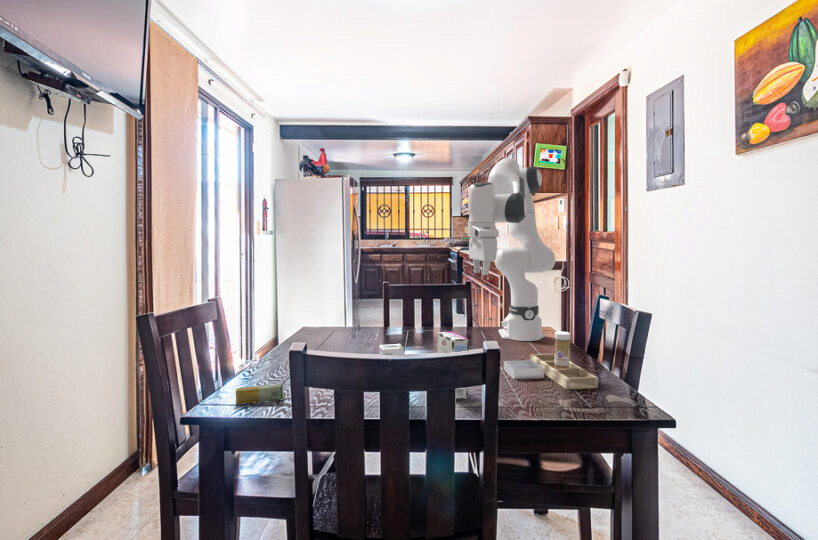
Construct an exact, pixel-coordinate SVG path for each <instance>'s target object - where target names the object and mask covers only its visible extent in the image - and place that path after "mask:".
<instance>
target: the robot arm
mask: <svg viewBox="0 0 818 540" xmlns="http://www.w3.org/2000/svg"><path fill="white" fill-rule="evenodd" d="M487 178H488V179H487V182H485V181H484V182H476V183H473V184H471V185H470V187H469V191H468V202H467V210H468V215H469V216H468V217H469V218H468V221H467V237H468V238H469V242H468V257H469V259H470V260H472V263H473V272H474V273H476V274H480V273H481V274H482V275H483V276H489V274H490V267H491V262H494V265H495V267H496V269H497V270H498V271H499V272H500V273H502V274H503V275H504V277H505V278H506V279H507V282H508V284H509V288H510V305H509V308H508V309H509V311H508V314H507V316H506V317H505V318H504V319H503V321H501V327H503V328H499V329H498V333H499V335H500V336H501V338H502V339H504V340H505V339H506V340H513V341H521V342H533V341H540V340H542V339H544V338H546V335H545V334H544V333H543V326H542V324H543V323H542V318H541V317H540V316H539V310H540V309H539V307H540V306H539V305H538V303H539V302H538V301H539V300H538V299H539V298H538V297H539V296H538V295H539V289H538V287H537V285H536V284H535V283H533V282H531V281H530V280H528V279H526V276H525V275H526V274H530V273H531V274H533V273H535V274H536V273H544V272H548V271H551V270H553V268H554V267H555V264H556V254H555V252H554V251H553V250H552V249H551V248H550V247H548V246H547V245H546V244H545V243H544V241H543V240H542V239H541V237H540V236H539V233H538V229H537V220H536V209H535V203H534V198H533V197H535V196H536V194H537V193H538V192H539V190H540V189H541V187H542V182H543V177H542V173H541V172H540V169H539V168H538V167H537V166H527V167H520V165H519V163H518V162H517V161H516V160H515V159H514V158H510V157H506V158H505V157H504V158H503V159H501V160H499V161H498V162H497V163H495V165H494V166H493V167H492V169H491V170H490V172H489V175H488V177H487ZM498 223H500V224H501V223H502V224H503V223H508V224H509V234H510V235H511V236H512V237H513V238H514V239H516V240H518V241H519V242H520V243H521V244H522V246H507V247H505V248H499V249H498V239H497V238H499V236H500V233H499V230H498V228H497V227H496V224H498ZM481 262H482V269H481V265H480V263H481Z"/></svg>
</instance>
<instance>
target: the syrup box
mask: <svg viewBox="0 0 818 540" xmlns="http://www.w3.org/2000/svg"><path fill="white" fill-rule="evenodd" d="M404 351H405V350H404V347H403V345H402V344H401V343H396V344H395V343H393V344H391V343H390V344H380V345H379V349H378V352H379V355H405V354H404V353H405V352H404Z"/></svg>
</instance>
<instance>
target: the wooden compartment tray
mask: <svg viewBox="0 0 818 540" xmlns="http://www.w3.org/2000/svg"><path fill="white" fill-rule="evenodd" d="M529 360H533V361H534V362H536V363H537V364H538V365H540V366H541V367H543V368H544V375H545V376H547V377H549V378H550V379H551V380H553V381H554V382H555V383H557V384H558V385H559V386H561V387H563V388H564V389H566V390H583V389H598V388H599V377H598V376H596V375H594V374H593V373H591V372H589V371H588V370H587V369H586V370H585V369H584V368H582V367H580V366H579V365H577V364H575V363H574V362H572V361H571V360H569V368H567V369H555V363H554V361H555V353H535V354H529Z"/></svg>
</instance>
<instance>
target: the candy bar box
mask: <svg viewBox="0 0 818 540" xmlns="http://www.w3.org/2000/svg"><path fill="white" fill-rule="evenodd" d="M469 341H470V340H469V338H467V337H466V336H465V337H464V336H463V335H460V334H458V333H456V332H454V331H441V332H440V331H438V332H437V349H436V350H437V354H439V353H450V352H461V351H468V352H469ZM437 354H436V355H437ZM468 394H469V387H468V388H464V389H456V400H455V401H461V400H468V398H469V395H468Z"/></svg>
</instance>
